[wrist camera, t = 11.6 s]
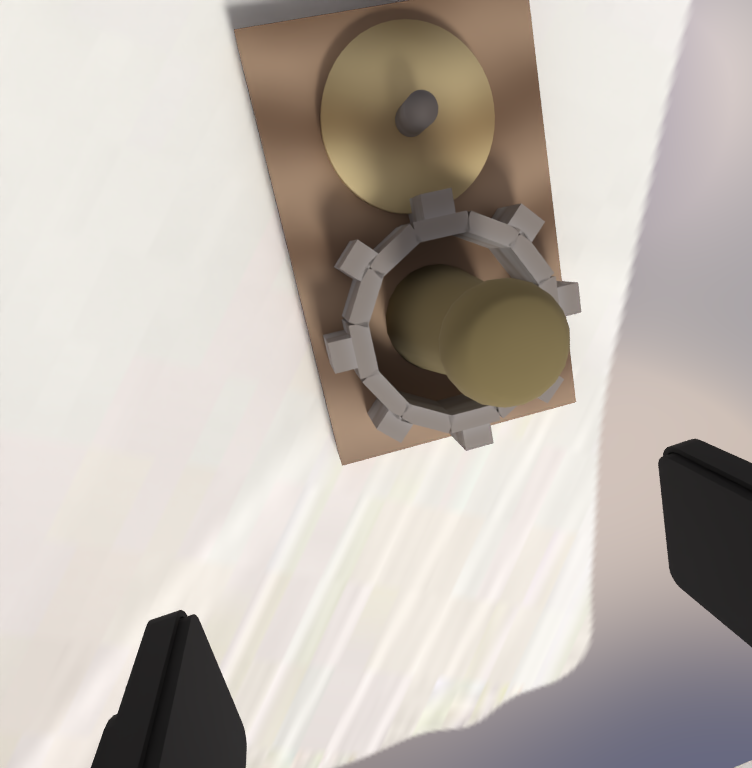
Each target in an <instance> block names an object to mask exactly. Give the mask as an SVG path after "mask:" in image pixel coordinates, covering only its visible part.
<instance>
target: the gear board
mask: <svg viewBox="0 0 752 768" xmlns="http://www.w3.org/2000/svg"><path fill="white" fill-rule="evenodd" d="M234 32H235V37H236V42H237V46H238V50H239V54H240V59H241V63H242V67H243V71H244V75H245V79H246V83H247V87H248V91H249V95H250V99H251V103H252V107H253V111H254V115H255V119H256V123H257V127H258V131H259V135H260V139H261V143H262V147H263V151H264V155H265V159H266V163H267V167H268V171H269V175H270V179H271V183H272V187H273V191H274V195H275V199H276V203H277V207H278V211H279V215H280V219H281V223H282V227H283V232H284V236H285V240H286V244H287V248H288V252H289V256H290V260H291V264H292V268H293V272H294V276H295V280H296V284H297V288H298V292H299V296H300V300H301V304H302V308H303V312H304V316H305V320H306V324H307V328H308V332H309V336H310V340H311V344H312V348H313V352H314V356H315V360H316V364H317V368H318V372H319V376H320V380H321V384H322V388H323V392H324V396H325V400H326V404H327V409H328V413H329V417H330V421H331V425H332V429H333V433H334V437H335V441H336V445H337V449H338V453H339V457H340V460H341V463H342V466H343V465H347V464H350V463H354V462H358V461H361V460H365V459H369V458H372V457H376V456H380V455H383V454H387V453H391V452H394V451H398V450H402V449H405V448H409V447H413V446H416V445H420V444H424V443H427V442H431V441H435V440H438V439H442V438H446V437H450V436H452V437H453V438H454V439H455V440H456V441H457V442H458V443H459V444H460V445H461V446H462V447H463V448H464V449H465V450H466V451H467V450H470V449H474V448H478V447H481V446H485V445H489V444H492V443H493V437H492V431H491V425H494V424H497V423H501V422H505V421H508V420H512V419H516V418H519V417H523V416H527V415H530V414H534V413H538V412H541V411H545V410H549V409H553V408H556V407H560V406H564V405H567V404H571V403H575V402H576V399H575V390H574V381H573V373H572V364H571V356H570V350H569V353H568V357H567V361H566V364H565V367H564V369H563V370H562V372H561V374H560V375H559V377H558V379H557V380H556V382H555V383H554V384H553V385H552V386H551V387H550V388H549V389H548V390H547V391H546V392H544V393H543V394H542V395H541V396H540V397H538V398H536V399H534V400H532V401H530V402H528V403H526V404H524V405H519V406H513V407H507V408H503V407H495V406H489V405H483V404H480V403H478V402H476V401H474V400H472V399H471V398H469V397H467V396H465V395H464V394H463V393H461V392H460V391H459V390H458V389H457V387H456V386H455V385H454V384H453V383H452V382H451V381H450V380H449V378H448V377H447V375H445V374H441V373H437V372H434V371H430V370H426V369H422V368H418V367H417V366H415V365H413V364H411V363H409V362H407V361H406V360H404V359H403V358H402V357H401V355H400V354H399V353H398V352H397V351H396V350H395V349H394V347H393V345H392V343H391V341H390V338H389V336H388V334H387V325H386V312H387V307H388V303H389V299H390V297H391V296H392V294H393V292H394V290H395V288H396V287H397V285H398V284H399V283H400V282H401V281H402V280H403V279H404V278H405V277H406V276H407V275H408V274H409V273H411V272H413V271H415V270H417V269H420V268H422V267H424V266H428V265H436V264H444V265H449V266H453V267H458V268H459V269H461V270H463V271H465V272H467V273H469V274H471V275H473V276H475V277H477V278H479V279H481V280H483V281H487V280H493V279H501V278H514V279H519V280H523V281H528V282H532V283H533V284H535V285H537V286H538V287H540V288H541V289H543V290H544V291H546V292H548V293H549V294H550V295H551V296H552V297H553V298H554V299H555V300H556V302H557V303H558V304H559V306H560V307H561V308H562V310H563V311H564V314H565V317H566V316H568V315H572V314H576V313H580V312H581V305H580V296H579V286H578V283H577V282H565V281H562V279H561V270H560V261H559V253H558V244H557V236H556V227H555V219H554V210H553V201H552V193H551V184H550V176H549V167H548V159H547V150H546V141H545V133H544V124H543V116H542V107H541V99H540V90H539V81H538V73H537V64H536V56H535V47H534V39H533V30H532V21H531V13H530V4H529V0H408V1H402V2H396V3H390V4H384V5H378V6H372V7H366V8H360V9H354V10H348V11H342V12H336V13H330V14H324V15H318V16H312V17H306V18H300V19H294V20H288V21H282V22H276V23H270V24H264V25H258V26H252V27H246V28H240V29H234Z"/></svg>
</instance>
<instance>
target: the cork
mask: <svg viewBox="0 0 752 768" xmlns="http://www.w3.org/2000/svg"><path fill="white" fill-rule="evenodd" d="M386 325H387V334H388V336H389V338H390V341H391V343H392V345H393V347H394V349H395V350H396V351H397V352H398V353H399V354H400V355H401V357H402V358H403V359H404V360H406V361H407V362H409V363H411V364H413V365H415V366H417V367H418V368H422V369H426V370H430V371H434V372H437V373H441V374H445V375H447V377H448V378H449V380H450V381H451V382H452V383H453V384H454V385H455V386H456V387H457V389H458V390H459V391H460V392H461V393H463V394H464V395H465V396H467V397H469V398H471V399H472V400H474V401H476V402H478V403H480V404H483V405H489V406H495V407H503V408H507V407H513V406H519V405H524V404H526V403H528V402H530V401H532V400H534V399H536V398H538V397H540V396H541V395H542V394H543V393H544V392H546V391H547V390H548V389H549V388H550V387H551V386H552V385H553V384H554V383H555V382H556V380H557V379H558V377H559V375H560V374H561V372H562V370H563V369H564V367H565V364H566V361H567V357H568V353H569V350H570V332H569V326H568V323H567V320H566V317H565V314H564V311H563V310H562V308H561V307H560V306H559V304H558V303H557V302H556V300H555V299H554V298H553V297H552V296H551V295H550V294H549V293H548V292H546V291H544V290H543V289H541V288H540V287H538V286H537V285H535V284H533V283H532V282H528V281H523V280H519V279H514V278H501V279H493V280H487V281H483V280H481V279H479V278H477V277H475V276H473V275H471V274H469V273H467V272H465V271H463V270H461V269H459V268H458V267H453V266H449V265H444V264H436V265H428V266H424V267H422V268H420V269H417V270H415V271H413V272H411V273H409V274H408V275H407V276H406V277H405V278H404V279H403V280H402V281H401V282H400V283H399V284H398V285H397V287H396V288H395V290H394V292H393V294H392V296H391V297H390V299H389V303H388V307H387V312H386Z"/></svg>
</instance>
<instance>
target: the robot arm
mask: <svg viewBox="0 0 752 768" xmlns="http://www.w3.org/2000/svg"><path fill="white" fill-rule="evenodd" d="M658 466H659V476H660V485H661V495H662V504H663V513H664V523H665V532H666V542H667V551H668V560H669V569H670V573H671V575H672V577H673V579H674V581H675V582H676V584H677V585H678V586H679V587H680V588H681V589H682V590H683V591H685V592H686V593H687V594H688V595H690V596H691V597H692V598H693V599H694V600H695V601H697V602H698V603H699V604H700V605H702V606H703V607H704V608H705V609H706V610H708V611H709V612H710V613H711V614H712V615H714V616H715V617H716V618H717V619H718V620H720V621H721V622H722V623H723V624H724V625H726V626H727V627H728V628H729V629H730V630H732V631H733V632H734V633H735V634H736V635H738V636H739V637H740V638H741V639H743V640H744V641H745V642H746V643H747V644H749V645H750V646H751V647H752V463H750V462H748V461H746V460H744V459H741V458H739V457H737V456H735V455H732V454H730V453H728V452H726V451H723V450H721V449H719V448H717V447H715V446H712V445H710V444H708V443H706V442H703V441H701V440H698V439H691V440H688V441H685V442H682V443H679V444H676V445H673V446H670V447H667V448H666V449H665V450H664V453H663V457H661V458H660V459H659V463H658ZM246 751H247V743H246V735H245V730H244V726H243V723H242V721H241V719H240V716H239V714H238V711H237V709H236V707H235V704H234V702H233V699H232V697H231V695H230V692H229V690H228V688H227V685H226V683H225V680H224V678H223V676H222V673H221V671H220V668H219V666H218V664H217V661H216V659H215V656H214V654H213V652H212V649H211V647H210V645H209V642H208V640H207V637H206V635H205V633H204V630H203V628H202V625H201V623H200V621H199V619H198V617H197V616H196V615H195V614H193V615H190V616H187V615H186V613H185V612H184V611H183V610H179V611H176V612H173V613H170V614H167V615H164V616H161V617H158V618H155V619H152V620H150V621H149V622H148V624H147V626H146V629H145V632H144V635H143V638H142V641H141V644H140V647H139V650H138V653H137V656H136V659H135V662H134V665H133V668H132V671H131V674H130V677H129V680H128V683H127V686H126V689H125V692H124V695H123V698H122V701H121V704H120V708H119V711H118V714H116V715H114V716H113V717H112V718H110V719H109V720H108V723H107V725H106V727H105V729H104V731H103V734H102V737H101V740H100V743H99V746H98V749H97V752H96V754H95V757H94V760H93V763H92V766H91V768H246ZM735 768H752V761H749V762H747V763H744V764H742V765H740V766H737V767H735Z"/></svg>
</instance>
